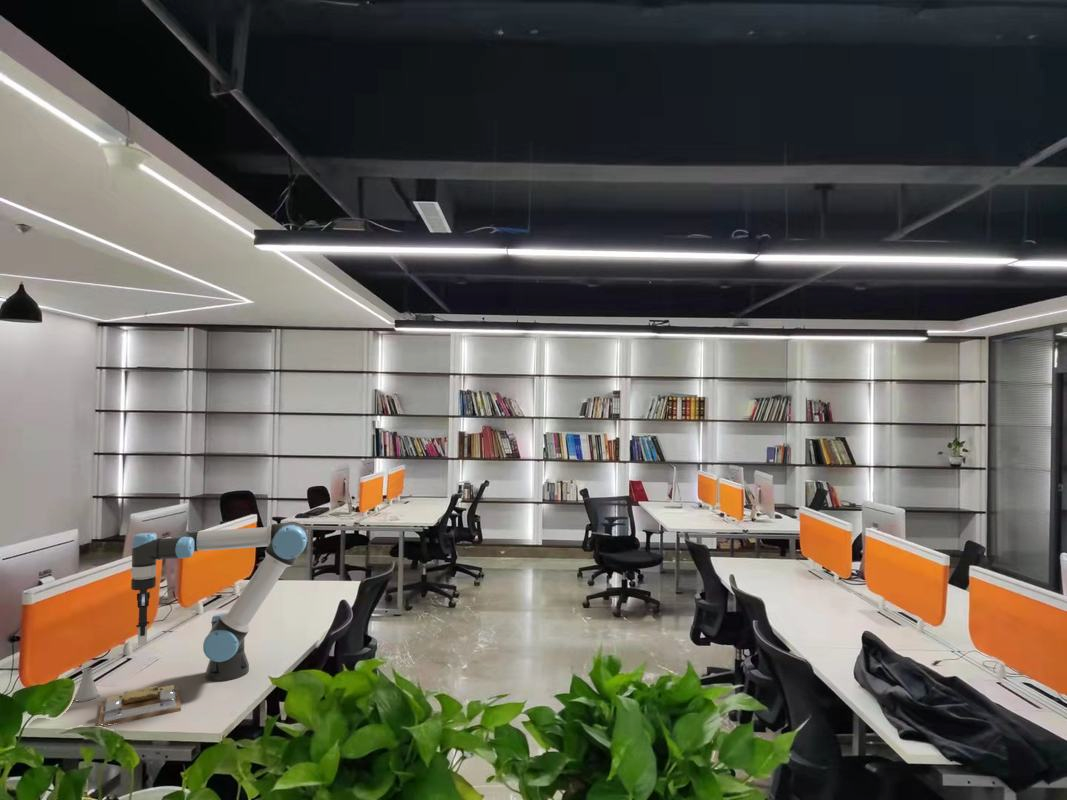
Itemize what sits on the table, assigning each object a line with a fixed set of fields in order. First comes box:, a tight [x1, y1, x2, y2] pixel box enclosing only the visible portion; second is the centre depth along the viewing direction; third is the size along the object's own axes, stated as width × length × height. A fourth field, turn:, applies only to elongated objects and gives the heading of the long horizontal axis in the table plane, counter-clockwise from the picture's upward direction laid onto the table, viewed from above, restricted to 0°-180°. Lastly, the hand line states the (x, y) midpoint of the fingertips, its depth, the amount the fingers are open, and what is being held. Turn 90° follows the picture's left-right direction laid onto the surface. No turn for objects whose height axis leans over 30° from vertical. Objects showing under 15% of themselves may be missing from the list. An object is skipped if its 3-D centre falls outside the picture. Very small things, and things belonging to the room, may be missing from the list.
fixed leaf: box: [103, 689, 177, 722], centre depth 212 cm, size 21×8×4 cm, turn 121°
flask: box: [73, 667, 100, 703], centre depth 225 cm, size 7×7×10 cm
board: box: [97, 686, 182, 728], centre depth 217 cm, size 23×20×1 cm
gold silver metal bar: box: [106, 684, 175, 705], centre depth 221 cm, size 20×8×4 cm, turn 121°
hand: (142, 643), depth 227 cm, fingers closed
